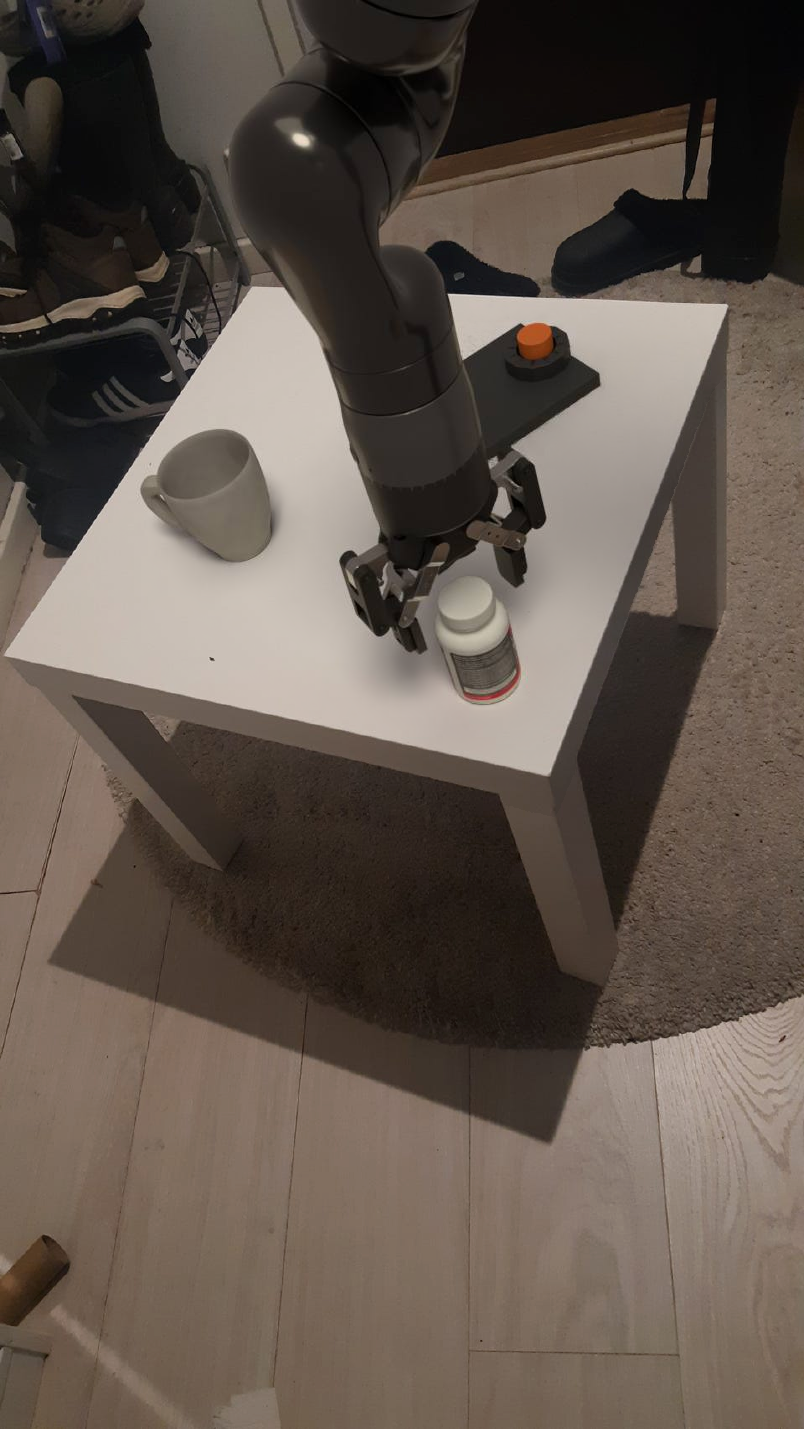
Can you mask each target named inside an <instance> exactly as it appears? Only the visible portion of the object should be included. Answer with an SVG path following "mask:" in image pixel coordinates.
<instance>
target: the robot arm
mask: <svg viewBox="0 0 804 1429" xmlns="http://www.w3.org/2000/svg"><path fill="white" fill-rule="evenodd" d="M479 2H480V0H295V4H296V7H297V10H298V12H299V14H300V17H301V19H302V21H303V23H304V24H305V26H306V28H307V30H308V31H309V32H310V34H311V35H312V37H313V39H312V42H311V43H310V46H309V47H308V50H307V52H305V54H304V55H303V56H302V57H301V58H300V59H299V60H298V61H297V62H296V63H295V64H294V66H292V67H291V68H290V69H289V71H287V72H286V73H285V74H284V75H282V77H281V78H280V79H279V80H278V81H277V82H276V83H274V85H273V86H272V87H271V88H269V90H268V91H267V92H265V94H264V95H262V97H261V98H260V99H259V100H258V101H256V102H255V103H254V104H253V105H252V106H251V108H250V109H248V111H247V112H246V113H245V114H244V115H243V116H242V117H241V119H240V121H239V122H238V124H237V125H236V127H235V129H234V131H233V134H232V136H231V139H230V142H229V146H228V147H229V148H228V155H227V156H228V157H227V177H228V186H229V187H228V188H229V192H230V198H231V203H232V205H233V210H234V211H235V214H236V218H237V220H238V222H239V223H240V224H239V225H240V226H241V228H242V230H243V232H244V233H245V235H246V236H247V238H248V239H249V242H250V243H251V244H252V245H253V247H254V249H255V250H256V251H257V252H258V254H259V255H260V257H261V258H262V259H263V261H264V262H265V264H266V265H267V266H268V267H269V269H270V270H271V272H272V274H273V275H274V276H275V278H276V279H277V281H279V283H280V284H281V286H282V287H283V289H284V290H285V292H286V293H287V295H288V296H289V298H290V299H291V301H292V302H293V304H295V306H296V307H297V309H298V310H299V312H300V313H301V314H302V316H303V318H305V320H306V322H307V323H308V324H309V325H310V327H311V328H312V330H313V331H314V333H315V335H316V336H317V339H318V343H319V345H320V349H321V351H322V354H323V356H324V359H325V363H326V365H327V368H328V371H329V374H330V376H331V379H332V382H333V386H334V388H335V391H336V395H337V398H338V402H339V408H340V413H341V414H340V415H341V419H342V424H343V428H344V431H345V434H346V437H347V440H348V442H349V443H348V446H349V448H348V449H349V452H350V454H351V456H352V457H351V458H352V459H353V461H354V462H355V463H356V466H357V468H358V472H359V474H360V477H361V480H362V483H363V485H364V488H365V491H366V494H367V496H368V500H369V502H370V505H371V509H372V512H373V515H374V517H375V518H376V521H377V524H378V527H379V533H378V538H377V544H376V545H374V546H372V547H371V548H369V549H368V550H366V551H364V552H362V553H361V554H359V555H358V554H357V553H356V552H355V551H354V550H351V549H350V550H346V551H344V552H343V553H342V554H341V555H340V557H339V560H338V563H339V567H340V569H341V572H342V575H343V579H344V581H345V585H346V588H347V591H348V594H349V598H350V599H351V603H352V607H353V610H354V613H355V615H356V616H357V617H358V618H359V619H360V621H361V622H363V624H365V626H366V627H367V628H368V629H369V630H370V631H371V632H372V634H374V636H376V637H378V638H380V637H383V636H386V634H388V632H389V630H390V629H391V631H392V633H393V636H394V639H395V641H397V642H398V644H399V645H400V646H401V647H402V648H404V650H405V651H406V652H408V653H409V654H412V653H413V652H415V653H416V654H417V655H419V656H421V655H422V654H424V653H425V652H426V651H428V649H429V648H428V645H427V642H426V639H425V636H424V633H423V630H422V627H421V625H420V622H419V618H417V617H416V615H417V612H418V610H419V607H420V604H421V601H422V600H426V599H428V598H429V596H430V594H431V591H432V589H433V586H434V583H435V581H436V578H437V576H440V575H441V574H443V573H445V572H446V571H447V570H449V569H450V568H451V567H452V566H453V565H454V564H455V563H456V562H457V561H459V560H461V559H463V558H465V557H466V558H467V556H469V555H471V554H472V553H473V552H475V551H476V550H477V547H476V546H477V545H478V544H479V543H480V542H481V541H483V542H485V543H488V544H490V545H492V548H493V553H494V557H495V561H496V567H497V571H498V573H499V575H500V576H501V577H502V578H503V580H505V581H506V582H507V583H508V584H510V585H511V586H512V587H513V588H514V589H517V588H519V587H520V586H522V585H523V584H524V583H525V578H524V577H525V576H524V575H526V574H527V571H528V561H527V556H526V550H525V545H526V543H527V540H528V537H527V536H528V534H529V533H530V531H532V529H533V530H539V529H542V527H543V526H544V525H545V524H546V522H547V513H546V509H545V505H544V500H543V496H542V492H541V487H540V482H539V478H538V475H537V469H536V465H535V463H533V462H532V461H531V460H529V459H528V458H527V457H526V456H524V455H523V454H521V453H520V452H519V451H518V450H516V449H515V448H514V447H512V445H511V446H509V445H507V446H504V447H502V448H501V449H500V451H499V452H498V454H497V455H496V460H497V463H496V464H494V465H493V466H491V467H490V464H489V463H490V462H489V460H488V458H487V454H486V449H485V444H484V439H483V434H482V429H481V425H480V420H479V415H478V410H477V405H476V400H475V396H474V391H473V388H472V384H471V381H470V379H469V376H468V373H467V371H466V369H465V366H464V363H463V360H464V359H463V357H462V352H461V348H460V342H459V338H458V333H457V327H456V323H455V318H454V314H453V310H452V305H451V301H450V297H449V293H448V290H447V286H446V283H445V280H444V276H443V274H442V273H441V271H440V269H439V267H438V265H436V263H435V261H434V259H432V258H431V257H430V256H429V255H428V254H426V253H425V252H424V251H422V250H420V249H418V248H415V247H413V246H410V245H404V244H397V243H396V244H384V245H383V244H382V245H381V244H380V243H381V242H380V229H381V227H382V226H383V225H384V224H385V223H386V222H387V221H388V220H389V218H390V217H391V216H392V214H393V213H394V212H395V211H396V210H397V209H398V208H399V206H400V205H401V204H402V203H403V202H404V200H406V198H408V197H409V195H410V194H411V193H412V191H413V190H414V189H415V188H416V186H417V185H419V183H420V182H421V180H422V179H423V178H424V177H425V175H426V173H427V172H428V171H429V168H430V167H431V165H432V163H433V162H434V159H435V158H436V156H437V154H438V152H439V149H440V148H441V146H442V143H443V141H444V138H445V136H446V134H447V131H448V129H449V127H450V126H449V125H450V123H451V120H452V118H453V114H454V110H455V107H456V102H457V98H458V92H459V87H460V82H461V77H462V72H463V67H464V61H465V57H466V51H467V42H468V33H469V24H470V22H471V20H472V18H473V16H474V14H475V12H476V9H477V7H478V4H479ZM500 488H502V489H504V491H505V493H506V497H507V500H508V504H509V506H510V507H509V508H510V512H508V514H507V515H506V516H505V517H504V516H502V515H499V514H497V513H495V512H493V510H494V507H495V505H496V502H497V500H498V497H499V489H500ZM384 568H385V576H386V583H385V580H384V579H383V577H384ZM410 570H411V571H414V572H417V573H416V575H414V574H413V573H412V572H411V571H410ZM384 584H385V585H384ZM383 586H384V589H383V592H381V588H380V587H383ZM401 596H402V599H401V600H400V598H401Z"/></svg>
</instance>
